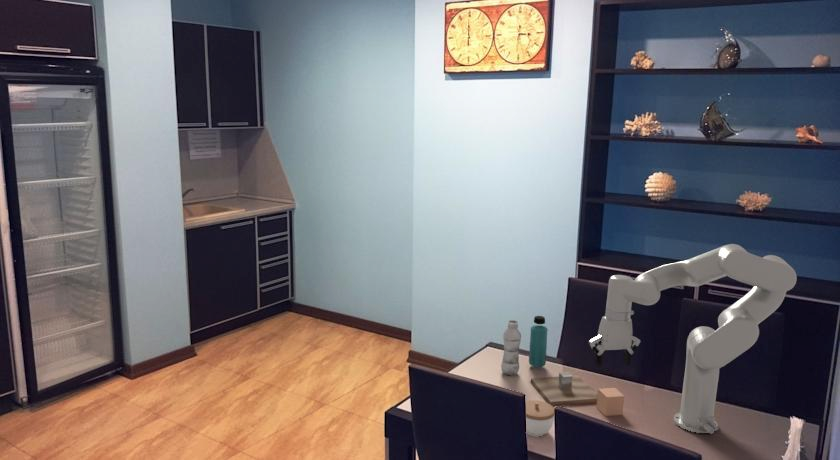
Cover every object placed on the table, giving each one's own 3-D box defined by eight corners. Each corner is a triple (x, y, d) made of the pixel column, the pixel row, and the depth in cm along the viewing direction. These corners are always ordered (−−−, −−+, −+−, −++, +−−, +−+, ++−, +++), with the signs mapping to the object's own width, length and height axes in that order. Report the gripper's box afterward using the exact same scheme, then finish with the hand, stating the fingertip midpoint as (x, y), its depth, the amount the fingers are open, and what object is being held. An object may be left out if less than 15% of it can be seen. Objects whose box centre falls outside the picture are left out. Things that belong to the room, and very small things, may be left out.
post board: (600, 402, 208) (602, 384, 206) (550, 405, 204) (551, 387, 203) (577, 379, 225) (578, 362, 224) (530, 382, 222) (531, 365, 220)
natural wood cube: (622, 414, 200) (624, 396, 198) (605, 416, 199) (606, 397, 197) (613, 405, 205) (615, 387, 204) (596, 407, 204) (598, 388, 203)
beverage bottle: (547, 371, 231) (550, 320, 227) (529, 370, 231) (532, 319, 227) (544, 364, 238) (547, 314, 234) (526, 363, 238) (529, 313, 234)
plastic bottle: (497, 371, 230) (500, 320, 226) (512, 368, 233) (515, 318, 229) (506, 378, 224) (509, 326, 220) (522, 375, 227) (525, 323, 223)
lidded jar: (553, 443, 182) (555, 413, 180) (516, 438, 184) (518, 409, 182) (553, 425, 192) (555, 397, 190) (518, 421, 194) (519, 393, 192)
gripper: (636, 309, 201) (630, 359, 204) (587, 310, 197) (581, 361, 201) (649, 317, 194) (642, 368, 197) (597, 319, 190) (592, 371, 194)
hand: (612, 364), depth 199 cm, fingers open, 9 cm apart
